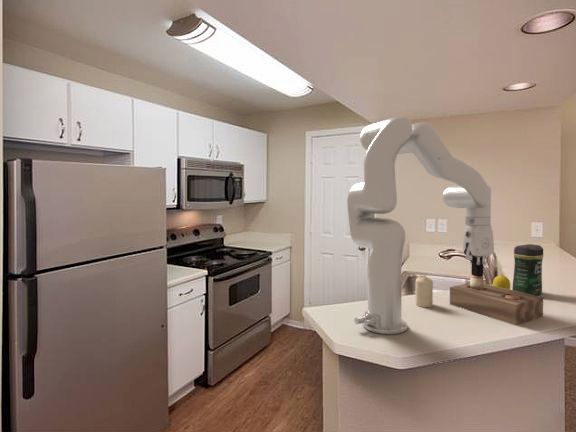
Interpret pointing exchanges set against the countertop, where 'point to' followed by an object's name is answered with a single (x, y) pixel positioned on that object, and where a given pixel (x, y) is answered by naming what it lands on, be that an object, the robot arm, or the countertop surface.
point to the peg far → (476, 282)
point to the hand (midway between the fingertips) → (477, 275)
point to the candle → (424, 292)
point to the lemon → (501, 282)
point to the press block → (497, 303)
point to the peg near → (513, 297)
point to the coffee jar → (528, 269)
